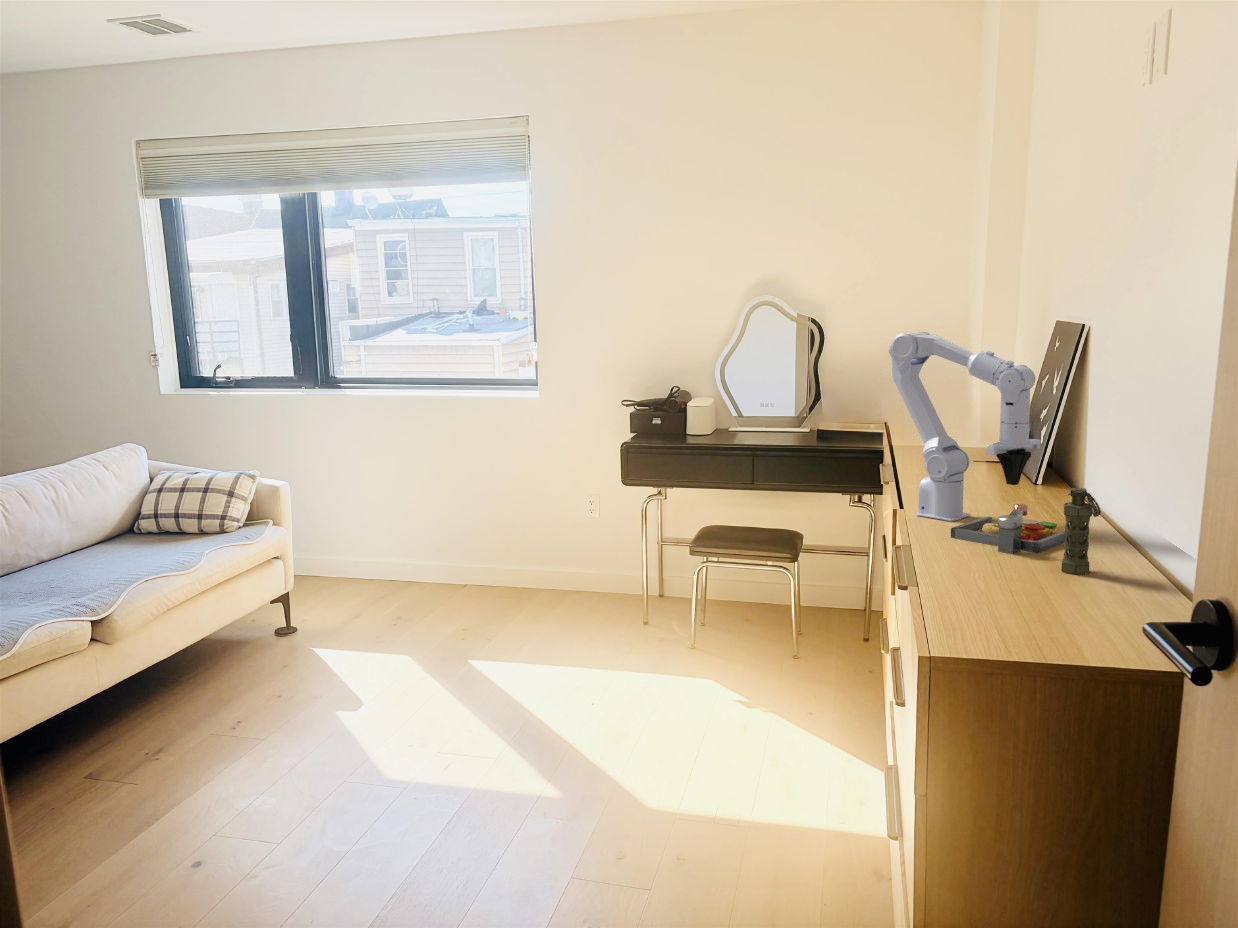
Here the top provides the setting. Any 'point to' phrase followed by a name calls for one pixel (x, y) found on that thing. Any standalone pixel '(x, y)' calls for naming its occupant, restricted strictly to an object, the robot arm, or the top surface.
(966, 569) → the top surface
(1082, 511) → the grenade
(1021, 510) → the press arm
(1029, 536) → the toy food set
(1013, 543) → the tray
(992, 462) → the top surface
